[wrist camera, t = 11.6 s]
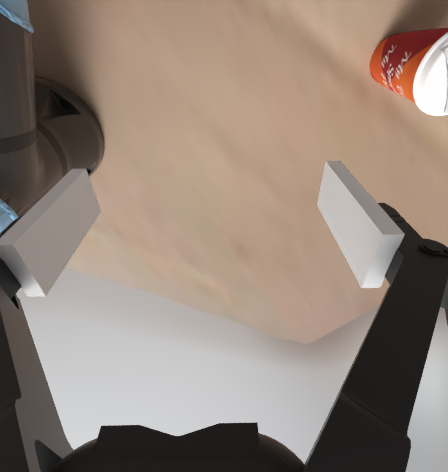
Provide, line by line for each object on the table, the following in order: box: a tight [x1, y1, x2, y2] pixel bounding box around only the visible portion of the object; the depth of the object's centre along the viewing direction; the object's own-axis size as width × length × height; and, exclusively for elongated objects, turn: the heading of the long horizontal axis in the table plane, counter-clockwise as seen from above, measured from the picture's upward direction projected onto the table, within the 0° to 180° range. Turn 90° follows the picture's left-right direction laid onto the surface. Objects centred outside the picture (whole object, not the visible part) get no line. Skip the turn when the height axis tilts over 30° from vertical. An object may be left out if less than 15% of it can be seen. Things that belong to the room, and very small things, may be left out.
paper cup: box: [370, 28, 448, 116], centre depth 30 cm, size 8×8×14 cm
